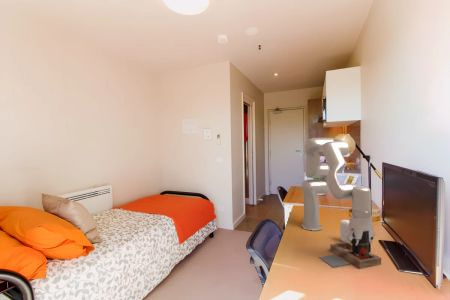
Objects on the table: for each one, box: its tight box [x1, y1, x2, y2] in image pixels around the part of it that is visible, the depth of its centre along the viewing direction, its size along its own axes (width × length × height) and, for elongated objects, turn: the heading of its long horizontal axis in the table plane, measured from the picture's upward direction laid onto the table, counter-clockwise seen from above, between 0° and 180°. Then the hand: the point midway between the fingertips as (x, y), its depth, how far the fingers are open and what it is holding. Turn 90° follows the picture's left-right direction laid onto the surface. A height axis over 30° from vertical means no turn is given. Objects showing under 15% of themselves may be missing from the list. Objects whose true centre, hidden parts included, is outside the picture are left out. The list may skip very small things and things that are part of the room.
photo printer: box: [339, 219, 350, 242], centre depth 122 cm, size 10×4×12 cm, turn 14°
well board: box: [329, 241, 382, 269], centre depth 107 cm, size 18×12×3 cm, turn 15°
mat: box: [319, 253, 351, 269], centre depth 104 cm, size 9×9×1 cm
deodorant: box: [354, 231, 369, 260], centre depth 103 cm, size 6×6×15 cm
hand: (361, 251), depth 103 cm, fingers closed on deodorant, 6 cm apart
